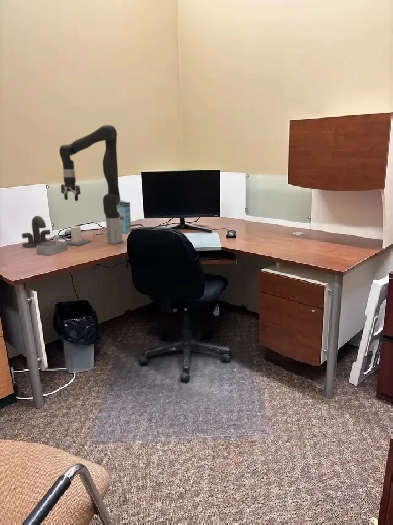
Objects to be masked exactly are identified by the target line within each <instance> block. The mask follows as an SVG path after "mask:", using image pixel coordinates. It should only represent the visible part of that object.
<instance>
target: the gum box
mask: <svg viewBox="0 0 393 525" xmlns="http://www.w3.org/2000/svg"><path fill="white" fill-rule="evenodd" d="M117 211H118V212H119V214H120V228H122V234H125V235H126V234H127V235H128V234H130V233H129V231H130V230H131V231H132V220H131V202H130V201H126V200H122V199H120V203H119V204H118V205H117Z"/></svg>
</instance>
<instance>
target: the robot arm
mask: <svg viewBox="0 0 393 525" xmlns="http://www.w3.org/2000/svg"><path fill="white" fill-rule="evenodd" d="M117 136H118V132H117V129H116V128H115V127H114V126H113V125H110V124H104V125H102V126H100V127H98V128H97V129H96V130H94V131H93V132H91V133H89V134H88V135H85V136H83V137H80V138H78V139H76V140H74V141H73V142H72V143H70V144H63V145H60V148H59V156H60V159H61V162H62V171H63V172H62V173H63V174H62V175H63V183H62V184H60V187H61V188H60V190H61V191H60V192H61V194H62V195H63V197H64V200H65V201H68V200H69V197H68V196H69V195H68V194H69V192H72V194H74V201H75V202H78V201H79V195H81V187H80V185H79V184H78V185H76V183H77V182H76V171H75V162H74V160H72V158H71V157H72V156H74V155H76V154H78V153H79V152H81V151H84V150H86V149H88V148H89V147H91V146H93V145H94V144H96V143H99V142H103V141H104V144H105V151H104V155H103V158H102V168H103V169H102V171H103V175H104V178H105V180H106V184H107V193H106V194H105V195H103V198H102V205H103V213H104V216H105V226H106V239H107V244H111V245H117V244H120V243H123V242H124V241H123V240H124V239H123V232H122V228H120V214H119V212H118V211H117V205H118V204H119V203H120V200H121V195H120V187H119V173H118V172H119V168H118V167H119V166H118V156H117V155H118V154H117V153H118V151H117V140H118V137H117Z"/></svg>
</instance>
